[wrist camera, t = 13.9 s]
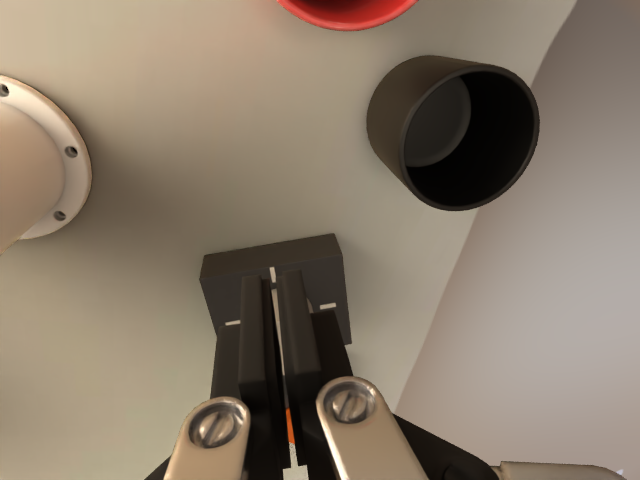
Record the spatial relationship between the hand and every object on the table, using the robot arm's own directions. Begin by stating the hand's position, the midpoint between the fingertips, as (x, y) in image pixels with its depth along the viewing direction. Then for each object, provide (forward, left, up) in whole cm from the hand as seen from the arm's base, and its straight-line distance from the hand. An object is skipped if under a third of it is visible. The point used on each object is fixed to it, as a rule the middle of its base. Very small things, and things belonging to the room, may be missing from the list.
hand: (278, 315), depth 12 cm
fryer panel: (-1, -15, -24) cm, 28 cm away
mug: (+14, -1, -24) cm, 28 cm away
